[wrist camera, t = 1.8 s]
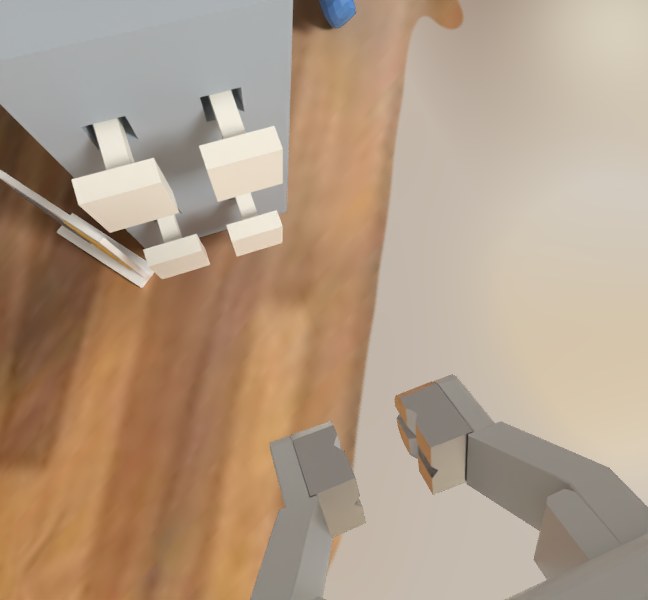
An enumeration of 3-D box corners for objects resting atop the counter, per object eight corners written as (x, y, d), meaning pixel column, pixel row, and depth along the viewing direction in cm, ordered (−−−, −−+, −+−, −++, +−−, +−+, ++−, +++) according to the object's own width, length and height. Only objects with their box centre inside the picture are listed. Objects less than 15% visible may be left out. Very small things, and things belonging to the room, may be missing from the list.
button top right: (217, 202, 23) (206, 169, 20) (187, 109, 24) (171, 62, 20) (282, 183, 23) (282, 149, 20) (250, 93, 24) (245, 45, 21)
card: (61, 235, 37) (-20, 180, 27) (76, 216, 37) (3, 155, 27) (142, 288, 36) (90, 253, 27) (157, 268, 37) (112, 226, 27)
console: (148, 252, 37) (-36, 68, 15) (123, 166, 38) (-82, -116, 17) (286, 211, 39) (293, -5, 17) (258, 130, 40) (230, -167, 18)
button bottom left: (162, 279, 32) (148, 266, 28) (141, 210, 33) (125, 189, 29) (210, 264, 32) (201, 250, 29) (188, 196, 33) (177, 175, 30)
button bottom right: (236, 256, 33) (231, 241, 29) (214, 189, 34) (207, 167, 30) (282, 242, 33) (282, 226, 30) (259, 176, 34) (256, 153, 31)
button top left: (109, 232, 22) (78, 205, 19) (81, 135, 23) (46, 91, 20) (179, 212, 23) (161, 182, 19) (149, 118, 23) (127, 72, 20)
